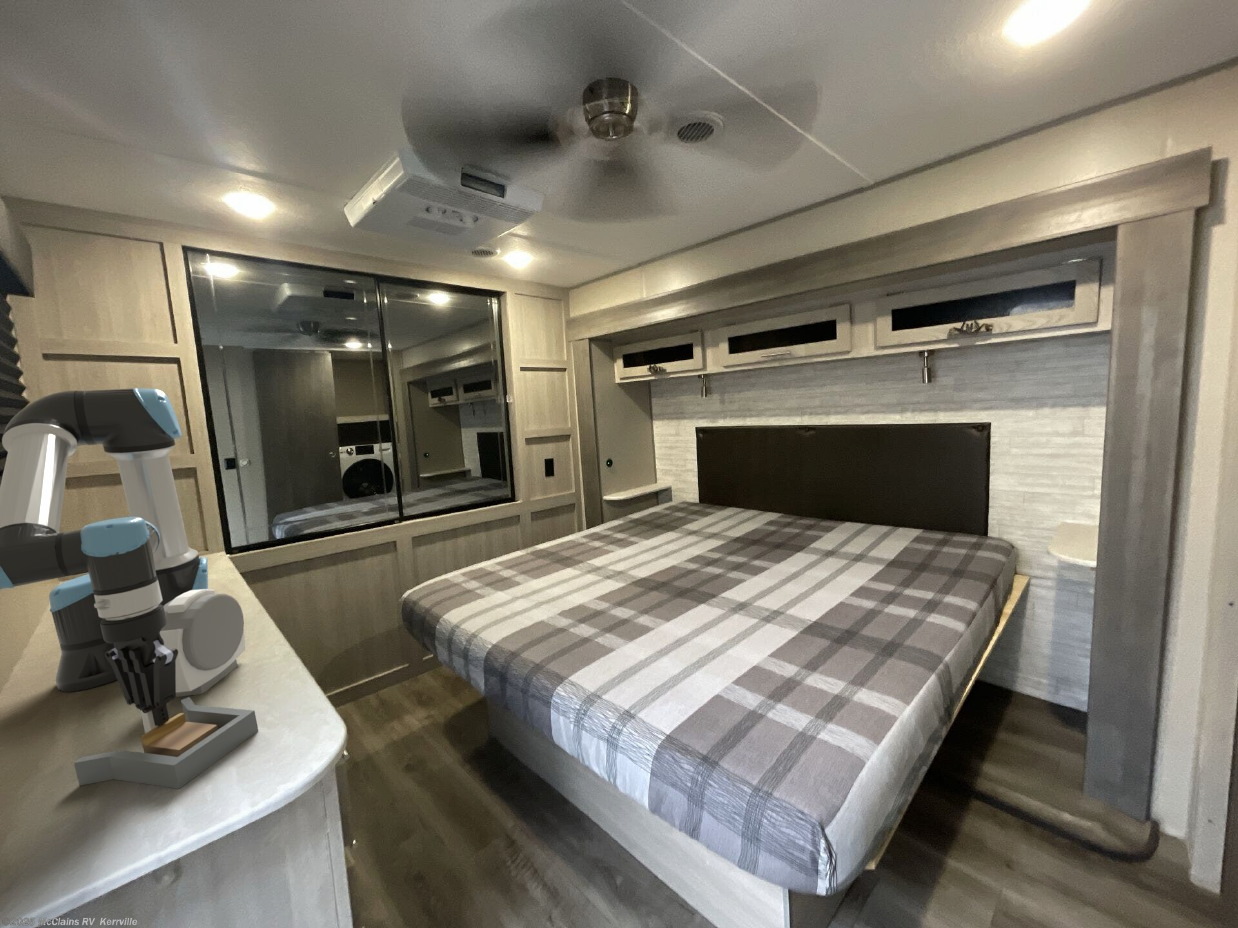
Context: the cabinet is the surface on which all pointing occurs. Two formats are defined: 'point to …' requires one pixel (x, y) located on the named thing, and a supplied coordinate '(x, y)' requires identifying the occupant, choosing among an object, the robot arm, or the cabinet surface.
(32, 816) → the cabinet surface
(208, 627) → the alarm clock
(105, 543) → the robot arm
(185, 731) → the tan block yellow end
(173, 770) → the bay
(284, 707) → the cabinet surface
